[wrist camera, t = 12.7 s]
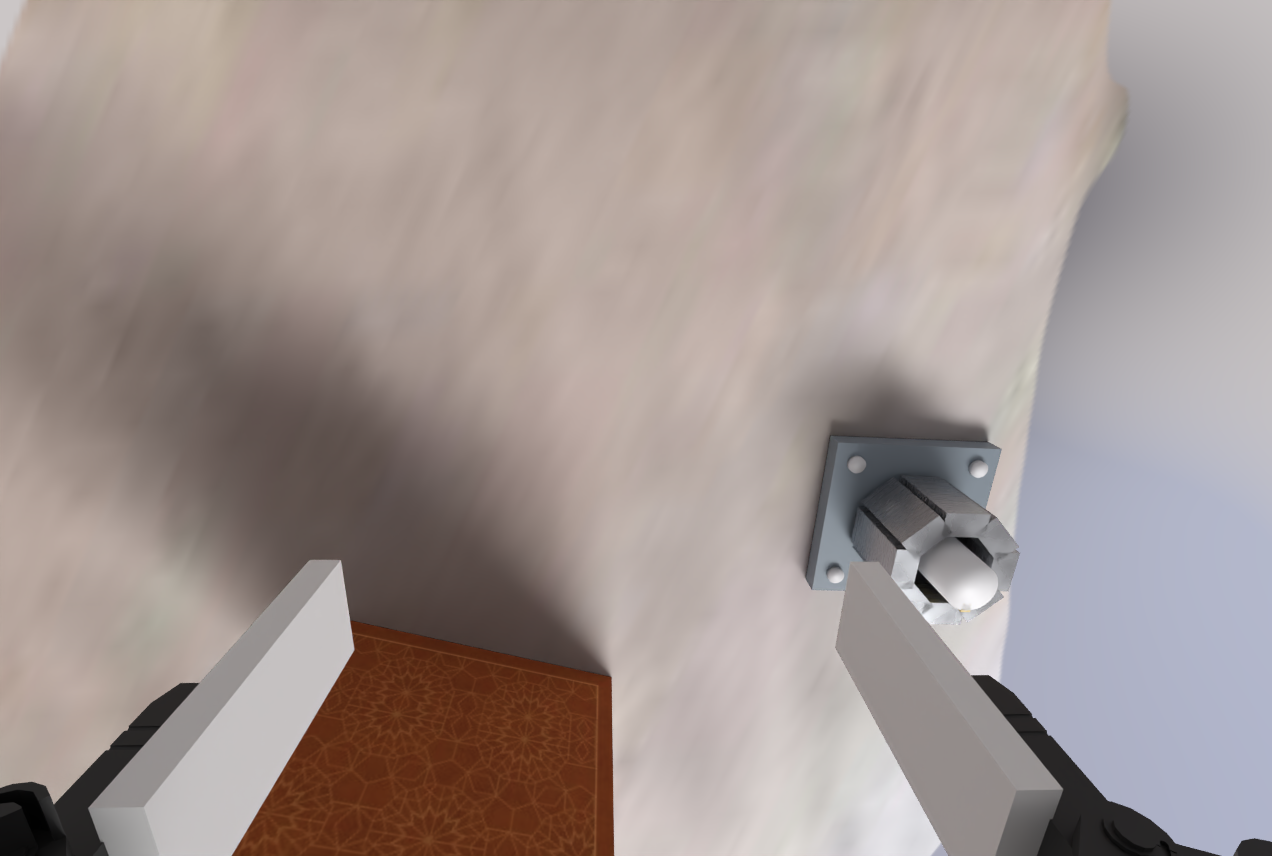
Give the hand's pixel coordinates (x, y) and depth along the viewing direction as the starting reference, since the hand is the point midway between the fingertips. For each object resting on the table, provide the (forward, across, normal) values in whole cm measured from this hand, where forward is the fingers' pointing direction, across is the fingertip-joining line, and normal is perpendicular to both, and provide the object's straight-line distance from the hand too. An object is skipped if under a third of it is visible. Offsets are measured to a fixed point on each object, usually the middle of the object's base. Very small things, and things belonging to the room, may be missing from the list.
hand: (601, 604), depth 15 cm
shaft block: (+26, +22, -11) cm, 36 cm away
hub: (+24, +22, -11) cm, 35 cm away
